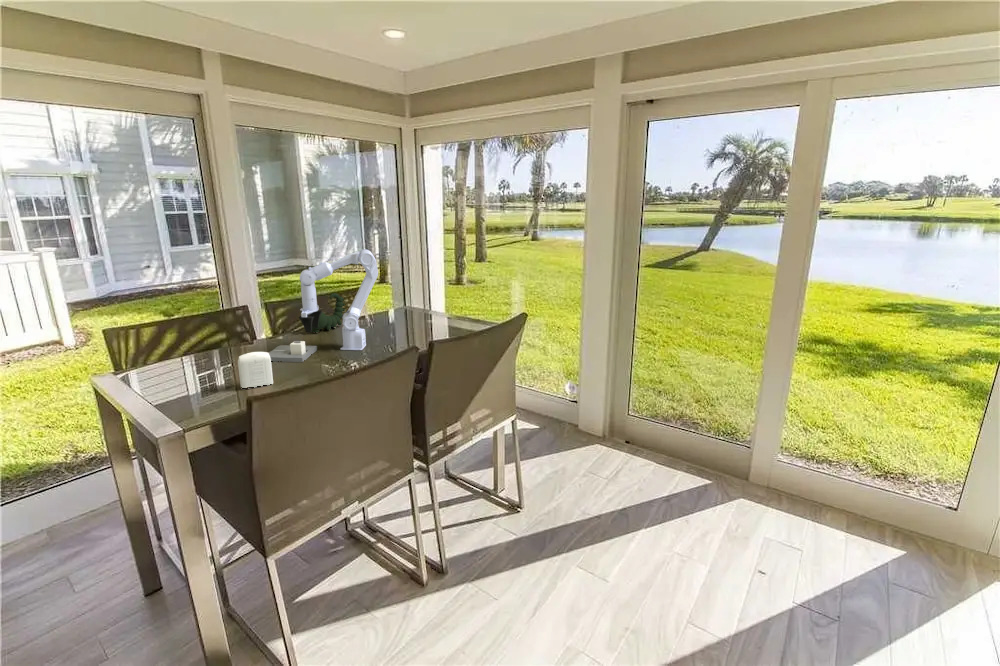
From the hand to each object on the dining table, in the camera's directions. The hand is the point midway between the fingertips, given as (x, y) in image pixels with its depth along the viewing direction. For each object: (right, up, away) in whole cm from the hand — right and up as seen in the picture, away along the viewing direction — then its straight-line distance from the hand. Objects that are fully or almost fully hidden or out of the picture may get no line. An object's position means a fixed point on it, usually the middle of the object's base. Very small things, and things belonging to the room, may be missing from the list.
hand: (312, 329), depth 199 cm
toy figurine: (-7, 0, +34) cm, 35 cm away
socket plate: (-7, -11, -4) cm, 14 cm away
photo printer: (-5, -20, -36) cm, 41 cm away
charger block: (-3, -11, -5) cm, 13 cm away
